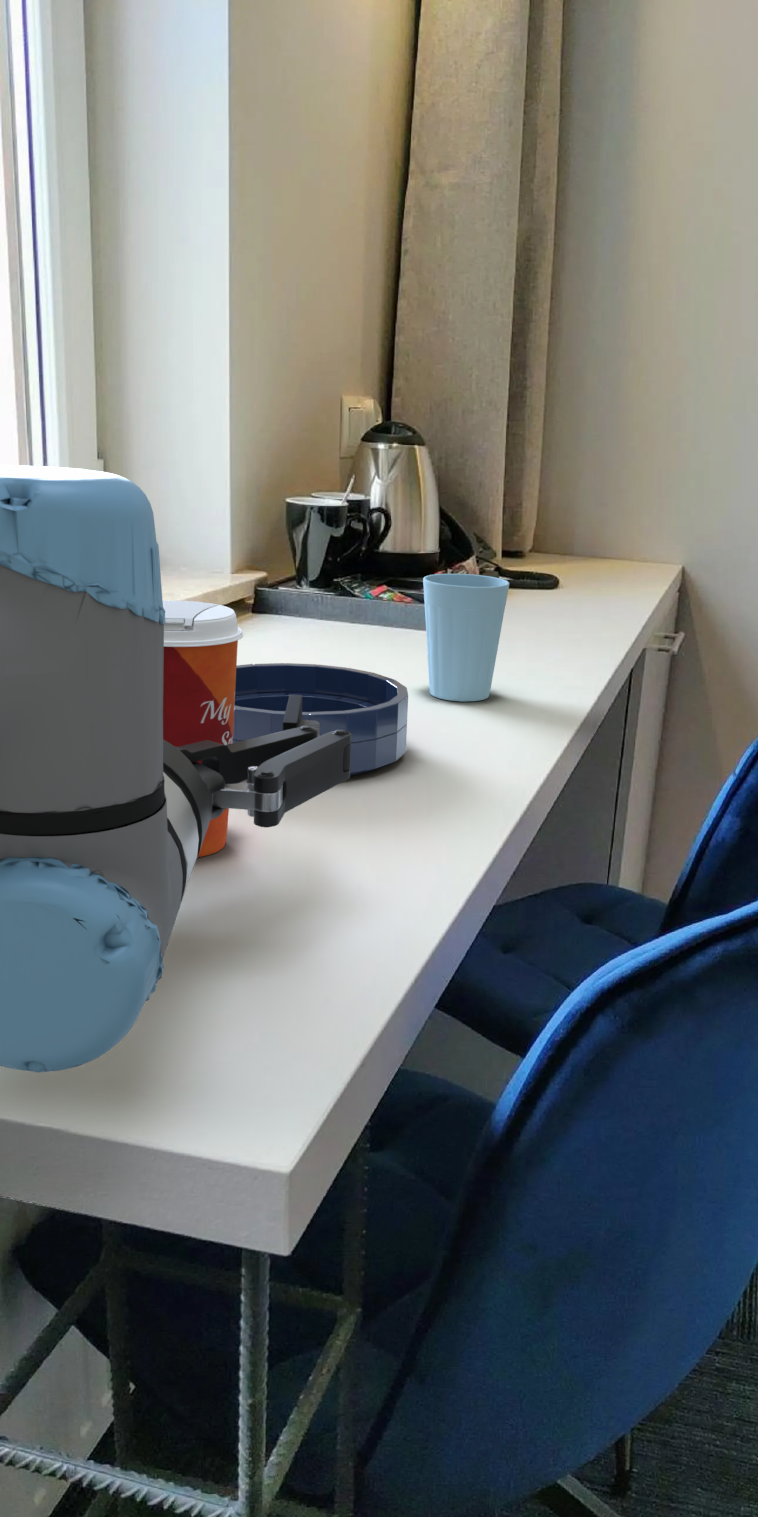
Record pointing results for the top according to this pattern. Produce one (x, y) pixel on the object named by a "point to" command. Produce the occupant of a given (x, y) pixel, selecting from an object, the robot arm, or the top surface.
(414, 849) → the top surface
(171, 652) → the paper cup
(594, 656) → the top surface
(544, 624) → the top surface
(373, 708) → the bowl
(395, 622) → the top surface
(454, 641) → the cup
